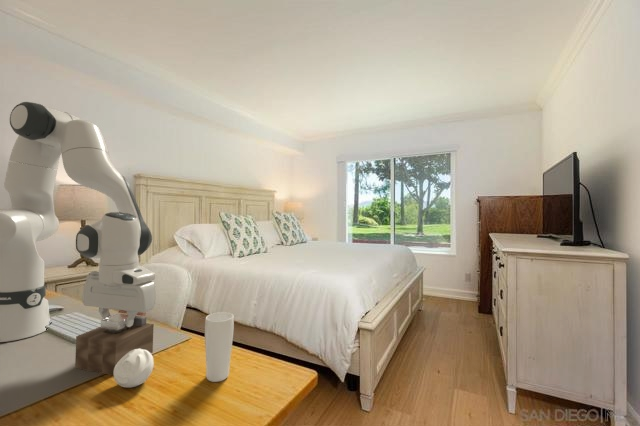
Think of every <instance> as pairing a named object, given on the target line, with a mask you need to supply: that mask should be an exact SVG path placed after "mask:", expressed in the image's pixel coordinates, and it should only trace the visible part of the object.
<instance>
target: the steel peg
mask: <svg viewBox="0 0 640 426" xmlns="http://www.w3.org/2000/svg"><path fill="white" fill-rule="evenodd" d="M127 317H128V315H127V314H126V313H117V314H113V315H111V317H108V318H106V319H103V320H102V319H101V320H100V327H101V328H104V329H108V333H112V334H119V333H121V332H123V331H125V330H127V327H124V326H123V324H124V323H123V320H126V319H127ZM133 323H134V319H133Z"/></svg>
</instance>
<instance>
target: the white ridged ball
mask: <svg viewBox="0 0 640 426" xmlns="http://www.w3.org/2000/svg"><path fill="white" fill-rule="evenodd" d="M154 365H155V364H154V355H152V353H150V352H149V351H147V350H144V349H140V348H139V349H134V350H132V351H130V352H128V353H127V354H126V355H125V356H123V357H122V358H121V359H120V360H119V362H118V363H117V364H116V366H115V368H114V372H113V378H114V381H115V382H116V383H115V384H117V385H119V386H120V387H123V388H126V389H127V388H135V387H138V386H140V385H141V384H143V383H145V382H146V381H147V380H148V379H149V377H150V375H151V374H152V372H153V370H154Z"/></svg>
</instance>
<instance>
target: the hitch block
mask: <svg viewBox="0 0 640 426" xmlns="http://www.w3.org/2000/svg"><path fill="white" fill-rule="evenodd" d="M139 348H140V349H144V350H147V351H149V352H150V353H151V354H152V353H153V351H154V323H150V322H149V323H148V322H147V316H141V315H136V316H135V318H134V323H133V325H132V326H131V327H127V330H125V331H123V332H121V333H119V334H112V333H108V329H104V328H101V326H99V327H96V328H94V329H91V330H89V331H86V332H84V333H83V332H82V333H81V334H79V335H76V336H75V367H74V368H75V369H79V370H86V371H88V372H89V371H90V372H95V373H101V374H106V375H113V372H114V368H115V366H116V364H117V363H118V362H119V360H120V359H121V358H122V357H123V356H125V355H126V354H127V353H128V352H130V351H132V350H134V349H139ZM113 376H114V375H113Z"/></svg>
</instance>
